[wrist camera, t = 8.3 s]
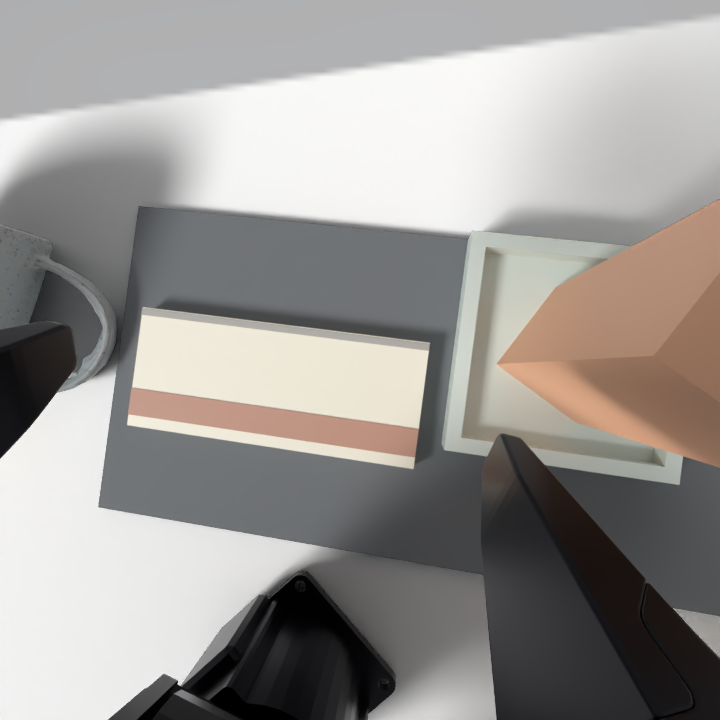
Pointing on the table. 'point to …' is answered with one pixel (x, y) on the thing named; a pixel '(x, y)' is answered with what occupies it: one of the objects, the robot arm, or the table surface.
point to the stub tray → (504, 392)
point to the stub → (636, 342)
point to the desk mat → (345, 476)
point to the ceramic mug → (22, 286)
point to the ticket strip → (279, 386)
